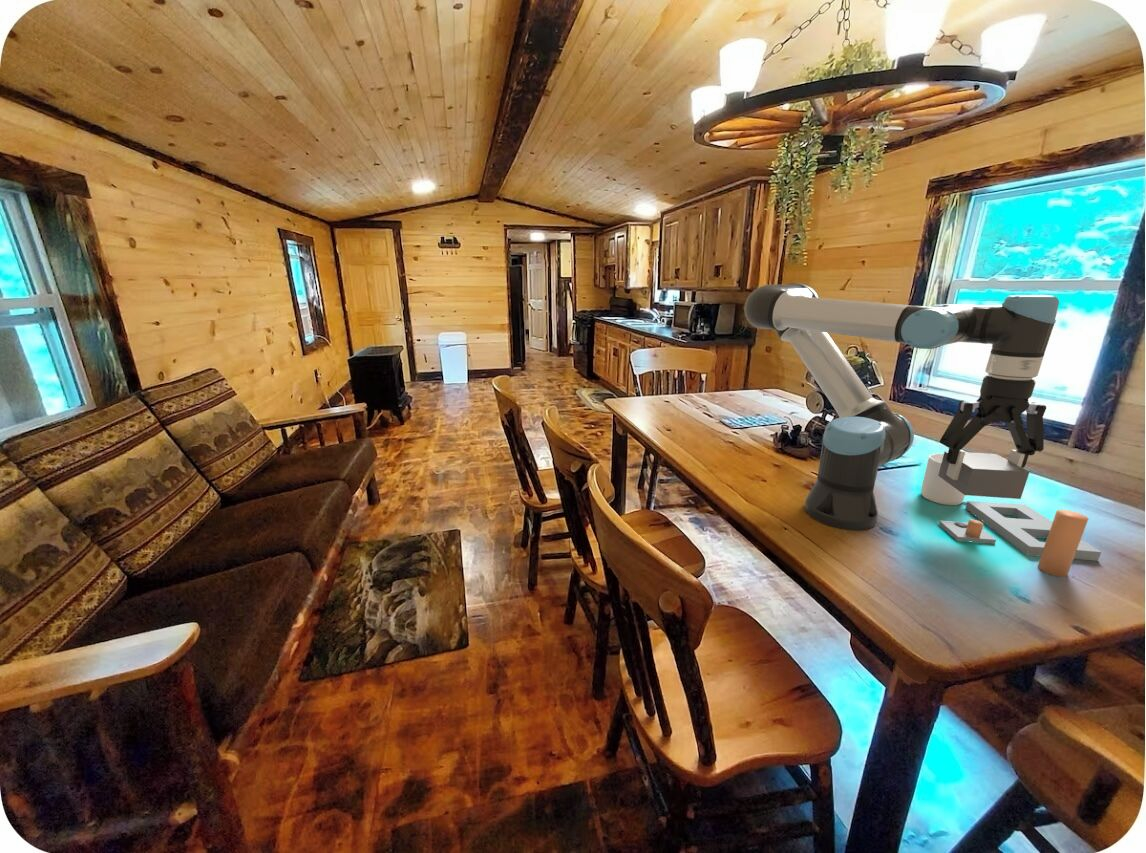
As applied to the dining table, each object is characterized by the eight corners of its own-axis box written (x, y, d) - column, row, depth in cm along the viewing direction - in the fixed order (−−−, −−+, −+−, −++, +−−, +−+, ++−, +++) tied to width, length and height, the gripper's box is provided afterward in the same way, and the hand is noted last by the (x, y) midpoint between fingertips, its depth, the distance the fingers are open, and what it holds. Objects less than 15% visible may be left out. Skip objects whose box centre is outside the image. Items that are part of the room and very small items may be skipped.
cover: (964, 495, 91) (972, 468, 90) (938, 475, 100) (944, 451, 99) (1020, 499, 89) (1029, 471, 88) (988, 478, 98) (995, 453, 97)
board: (957, 540, 96) (961, 524, 94) (938, 524, 102) (942, 508, 101) (994, 543, 94) (999, 527, 93) (973, 526, 101) (978, 511, 99)
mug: (986, 509, 108) (998, 469, 105) (929, 504, 111) (939, 465, 108) (966, 493, 116) (977, 455, 113) (914, 489, 119) (922, 452, 116)
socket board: (1026, 554, 90) (1029, 546, 90) (965, 508, 109) (967, 501, 108) (1097, 560, 88) (1101, 551, 87) (1022, 512, 106) (1025, 504, 106)
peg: (1048, 575, 84) (1068, 519, 80) (1032, 563, 88) (1050, 509, 84) (1073, 577, 83) (1094, 521, 79) (1056, 565, 87) (1075, 510, 83)
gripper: (956, 378, 86) (929, 482, 93) (1095, 381, 82) (1057, 490, 88) (934, 371, 93) (911, 468, 100) (1062, 373, 89) (1028, 475, 95)
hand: (980, 479), depth 94 cm, fingers closed on cover, 10 cm apart
